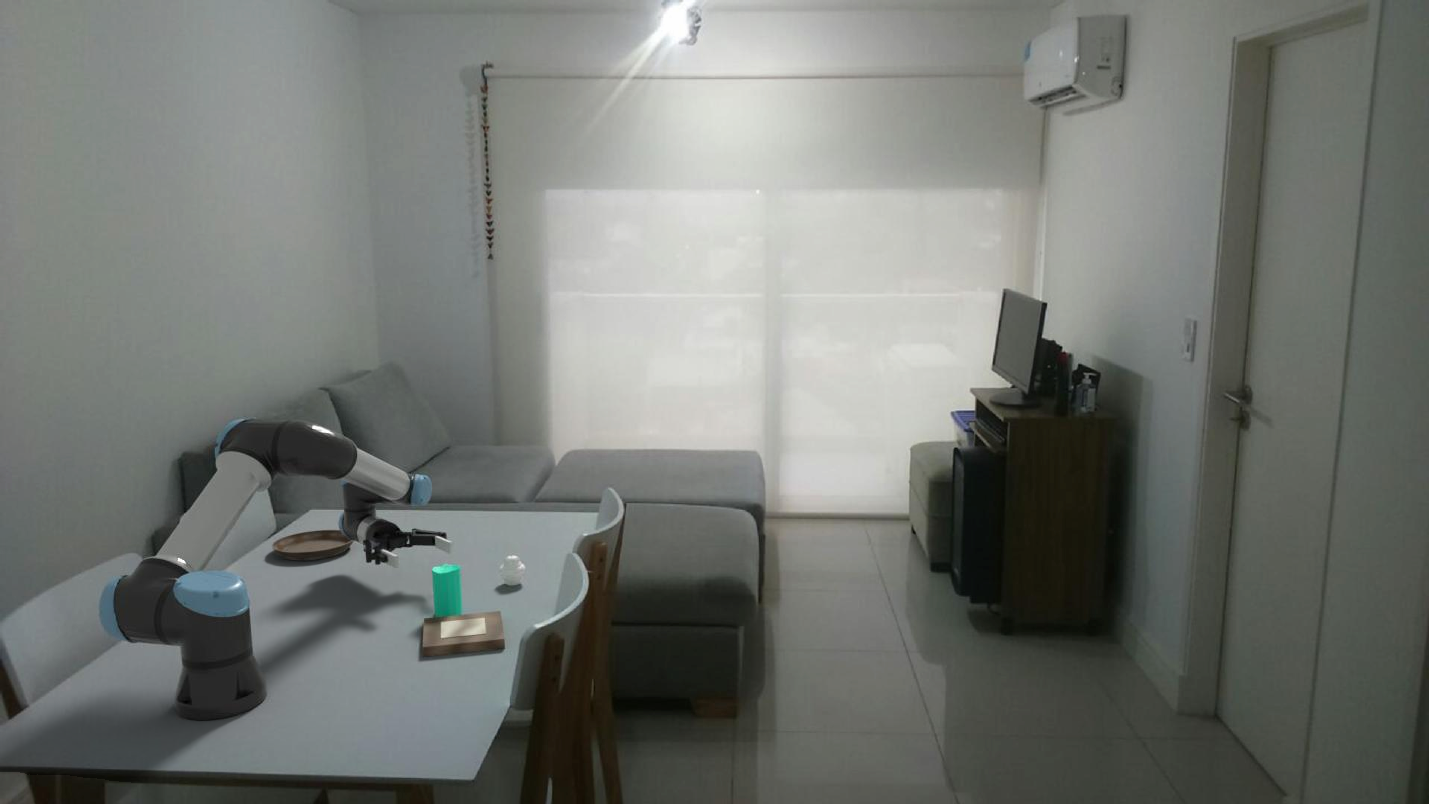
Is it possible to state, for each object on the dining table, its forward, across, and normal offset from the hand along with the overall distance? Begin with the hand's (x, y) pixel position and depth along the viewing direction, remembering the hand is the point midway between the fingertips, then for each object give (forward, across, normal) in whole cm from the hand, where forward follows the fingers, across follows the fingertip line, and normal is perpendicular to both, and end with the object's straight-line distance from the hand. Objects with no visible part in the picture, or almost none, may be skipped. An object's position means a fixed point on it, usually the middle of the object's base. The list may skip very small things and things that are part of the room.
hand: (424, 554), depth 240 cm
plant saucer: (-56, +2, -12) cm, 57 cm away
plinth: (+24, +5, -11) cm, 27 cm away
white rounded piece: (+4, -20, -12) cm, 24 cm away
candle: (+10, 0, -11) cm, 15 cm away
